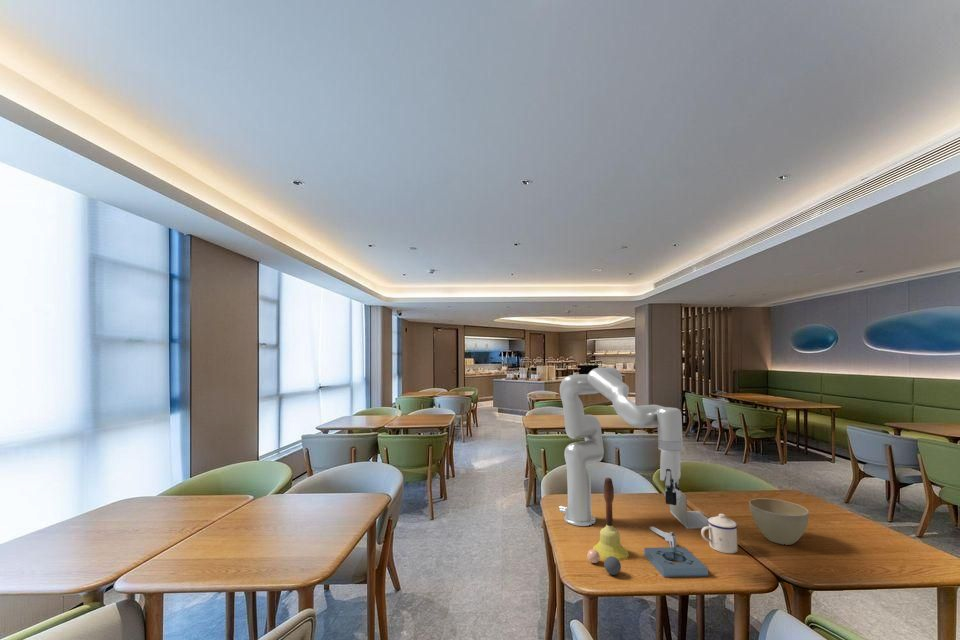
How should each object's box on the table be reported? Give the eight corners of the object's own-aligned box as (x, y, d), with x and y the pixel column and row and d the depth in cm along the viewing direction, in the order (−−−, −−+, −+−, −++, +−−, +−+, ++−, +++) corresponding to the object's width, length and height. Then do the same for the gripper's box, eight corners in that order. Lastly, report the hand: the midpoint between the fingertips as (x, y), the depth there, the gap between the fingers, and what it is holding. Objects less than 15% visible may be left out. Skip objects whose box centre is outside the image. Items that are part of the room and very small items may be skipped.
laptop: (719, 530, 164) (718, 496, 165) (686, 529, 165) (685, 495, 166) (699, 512, 182) (697, 482, 183) (669, 512, 183) (668, 481, 184)
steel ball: (663, 503, 137) (662, 488, 137) (666, 499, 141) (665, 484, 141) (680, 506, 134) (679, 490, 135) (682, 502, 138) (681, 486, 139)
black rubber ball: (602, 574, 130) (601, 558, 131) (607, 568, 134) (606, 551, 135) (618, 579, 127) (618, 562, 128) (623, 572, 132) (622, 556, 132)
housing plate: (663, 577, 129) (663, 568, 129) (644, 555, 143) (644, 547, 143) (708, 576, 129) (707, 567, 130) (684, 554, 143) (684, 547, 144)
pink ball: (585, 563, 137) (585, 550, 138) (589, 558, 141) (589, 546, 141) (597, 566, 135) (597, 553, 136) (601, 561, 138) (601, 549, 139)
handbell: (628, 563, 137) (626, 485, 139) (590, 557, 142) (588, 481, 144) (629, 547, 149) (627, 475, 151) (593, 541, 153) (592, 472, 155)
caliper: (677, 553, 145) (676, 534, 145) (674, 553, 145) (673, 534, 145) (651, 528, 165) (651, 512, 166) (649, 528, 165) (648, 512, 166)
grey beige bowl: (802, 534, 159) (800, 502, 160) (817, 555, 143) (815, 518, 144) (747, 526, 167) (745, 495, 168) (755, 545, 150) (753, 510, 151)
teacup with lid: (728, 542, 153) (727, 509, 154) (744, 554, 144) (742, 519, 145) (695, 542, 153) (694, 509, 154) (709, 554, 144) (707, 519, 145)
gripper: (663, 439, 148) (665, 492, 147) (652, 448, 134) (655, 507, 133) (686, 442, 144) (689, 496, 143) (678, 451, 130) (681, 512, 129)
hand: (672, 501), depth 138 cm, fingers closed on steel ball, 5 cm apart
